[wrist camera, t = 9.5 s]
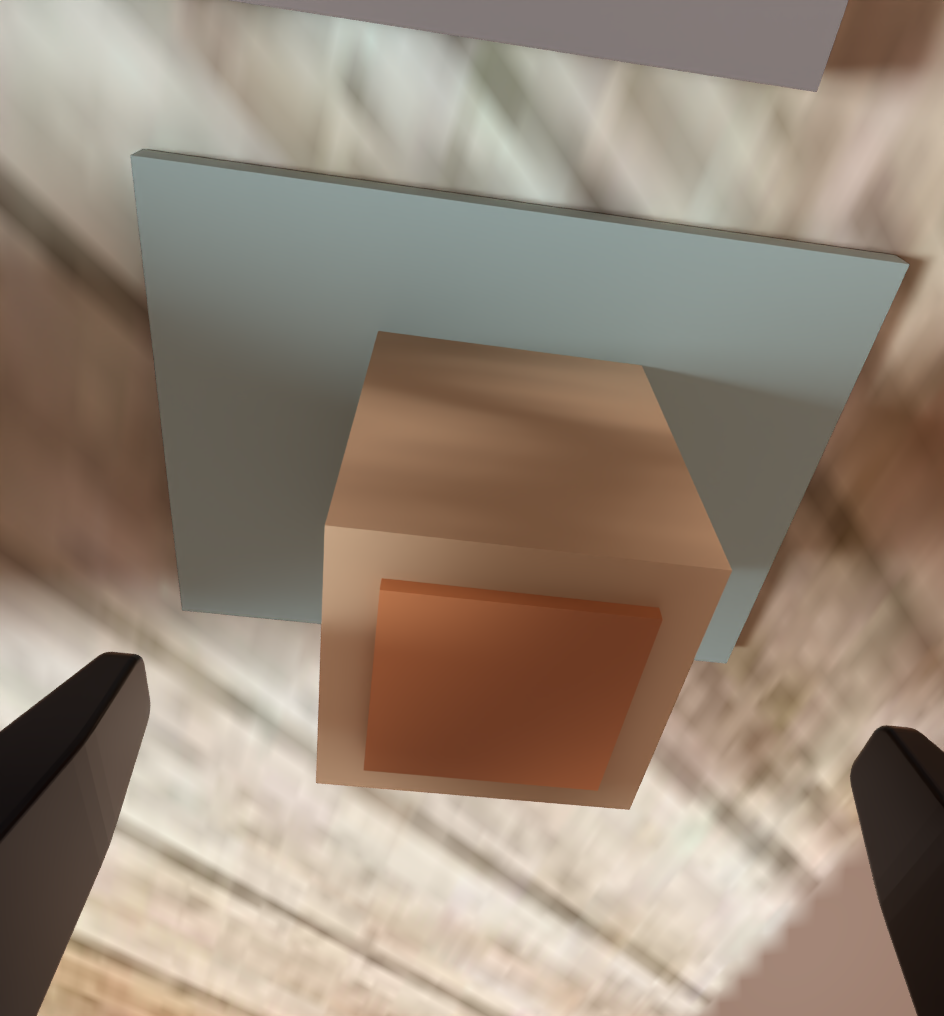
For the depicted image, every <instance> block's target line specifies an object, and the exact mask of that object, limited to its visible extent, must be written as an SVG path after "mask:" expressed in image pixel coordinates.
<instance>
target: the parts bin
mask: <svg viewBox="0 0 944 1016" xmlns="http://www.w3.org/2000/svg"><path fill="white" fill-rule="evenodd" d="M231 1H237V2H244V3H250V4H256V5H263V6H269V7H275V8H282V9H288V10H295V11H301V12H307V13H314V14H320V15H327V16H333V17H339V18H346V19H352V20H359V21H365V22H371V23H378V24H384V25H391V26H397V27H403V28H410V29H416V30H423V31H429V32H435V33H442V34H448V35H455V36H461V37H467V38H474V39H480V40H487V41H493V42H499V43H506V44H512V45H519V46H525V47H531V48H538V49H544V50H551V51H557V52H563V53H570V54H576V55H583V56H589V57H595V58H602V59H608V60H615V61H621V62H627V63H634V64H640V65H647V66H653V67H659V68H666V69H672V70H679V71H685V72H691V73H698V74H704V75H711V76H717V77H723V78H730V79H736V80H743V81H749V82H755V83H762V84H768V85H775V86H781V87H787V88H794V89H800V90H807V91H813V92H817V90H818V87H819V84H820V81H821V78H822V76H823V73H824V70H825V67H826V64H827V61H828V58H829V55H830V52H831V50H832V47H833V44H834V41H835V38H836V35H837V32H838V29H839V26H840V23H841V21H842V18H843V15H844V12H845V9H846V6H847V3H848V0H231Z"/></svg>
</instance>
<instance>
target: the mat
mask: <svg viewBox="0 0 944 1016" xmlns="http://www.w3.org/2000/svg"><path fill="white" fill-rule="evenodd" d="M131 164H132V173H133V182H134V191H135V199H136V208H137V217H138V226H139V235H140V243H141V252H142V261H143V270H144V279H145V287H146V296H147V305H148V314H149V323H150V331H151V340H152V349H153V358H154V367H155V375H156V384H157V393H158V402H159V411H160V420H161V428H162V437H163V446H164V455H165V464H166V472H167V481H168V490H169V499H170V508H171V516H172V525H173V534H174V543H175V552H176V560H177V569H178V578H179V587H180V596H181V604H182V610H183V611H193V612H204V613H214V614H224V615H234V616H245V617H255V618H265V619H275V620H286V621H296V622H306V623H317V624H321V621H322V591H323V561H324V531H325V522H326V519H327V515H328V511H329V508H330V504H331V500H332V497H333V493H334V490H335V486H336V482H337V479H338V475H339V471H340V468H341V464H342V460H343V457H344V453H345V450H346V446H347V442H348V439H349V435H350V431H351V428H352V424H353V420H354V417H355V413H356V410H357V406H358V402H359V399H360V395H361V391H362V388H363V384H364V380H365V377H366V373H367V369H368V366H369V362H370V359H371V355H372V351H373V348H374V344H375V340H376V337H377V333H378V331H383V332H391V333H399V334H406V335H414V336H421V337H429V338H437V339H444V340H452V341H460V342H467V343H475V344H483V345H490V346H498V347H506V348H513V349H521V350H528V351H536V352H544V353H551V354H559V355H567V356H574V357H582V358H590V359H597V360H605V361H612V362H620V363H628V364H635V365H642V367H643V369H644V372H645V374H646V376H647V378H648V381H649V383H650V385H651V387H652V390H653V392H654V394H655V397H656V399H657V401H658V403H659V406H660V408H661V410H662V412H663V415H664V417H665V419H666V421H667V424H668V426H669V428H670V431H671V433H672V435H673V437H674V440H675V442H676V444H677V446H678V449H679V451H680V453H681V455H682V458H683V460H684V462H685V465H686V467H687V469H688V471H689V474H690V476H691V478H692V480H693V483H694V485H695V487H696V489H697V492H698V494H699V496H700V499H701V501H702V503H703V505H704V508H705V510H706V512H707V514H708V517H709V519H710V521H711V523H712V526H713V528H714V530H715V533H716V535H717V537H718V539H719V542H720V544H721V546H722V548H723V551H724V553H725V555H726V557H727V560H728V562H729V564H730V567H731V569H732V572H731V574H730V577H729V579H728V581H727V584H726V586H725V588H724V591H723V593H722V595H721V598H720V600H719V602H718V605H717V607H716V609H715V612H714V614H713V616H712V619H711V621H710V623H709V626H708V628H707V630H706V633H705V635H704V637H703V640H702V642H701V644H700V647H699V649H698V651H697V653H696V656H695V658H694V660H696V661H707V662H717V663H727V661H728V659H729V657H730V655H731V652H732V650H733V648H734V646H735V644H736V642H737V639H738V637H739V635H740V633H741V631H742V629H743V626H744V624H745V622H746V620H747V618H748V615H749V613H750V611H751V609H752V607H753V605H754V602H755V600H756V598H757V596H758V594H759V592H760V589H761V587H762V585H763V583H764V581H765V578H766V576H767V574H768V572H769V570H770V568H771V565H772V563H773V561H774V559H775V557H776V554H777V552H778V550H779V548H780V546H781V544H782V541H783V539H784V537H785V535H786V533H787V531H788V528H789V526H790V524H791V522H792V520H793V517H794V515H795V513H796V511H797V509H798V507H799V504H800V502H801V500H802V498H803V496H804V493H805V491H806V489H807V487H808V485H809V483H810V480H811V478H812V476H813V474H814V472H815V470H816V467H817V465H818V463H819V461H820V459H821V456H822V454H823V452H824V450H825V448H826V446H827V443H828V441H829V439H830V437H831V435H832V432H833V430H834V428H835V426H836V424H837V422H838V419H839V417H840V415H841V413H842V411H843V409H844V406H845V404H846V402H847V400H848V398H849V395H850V393H851V391H852V389H853V387H854V385H855V382H856V380H857V378H858V376H859V374H860V372H861V369H862V367H863V365H864V363H865V361H866V358H867V356H868V354H869V352H870V350H871V348H872V345H873V343H874V341H875V339H876V337H877V334H878V332H879V330H880V328H881V326H882V324H883V321H884V319H885V317H886V315H887V313H888V311H889V308H890V306H891V304H892V302H893V300H894V297H895V295H896V293H897V291H898V289H899V287H900V284H901V282H902V280H903V278H904V276H905V273H906V271H907V269H908V267H909V265H910V264H908V263H907V262H905V261H904V260H902V259H900V258H899V257H897V256H896V255H891V254H884V253H877V252H870V251H863V250H856V249H848V248H841V247H834V246H827V245H820V244H813V243H806V242H799V241H792V240H785V239H777V238H770V237H763V236H756V235H749V234H742V233H735V232H728V231H721V230H714V229H706V228H699V227H692V226H685V225H678V224H671V223H664V222H657V221H650V220H643V219H635V218H628V217H621V216H614V215H607V214H600V213H593V212H586V211H579V210H572V209H565V208H557V207H550V206H543V205H536V204H529V203H522V202H515V201H508V200H501V199H494V198H486V197H479V196H472V195H465V194H458V193H451V192H444V191H437V190H430V189H423V188H415V187H408V186H401V185H394V184H387V183H380V182H373V181H366V180H359V179H352V178H344V177H337V176H330V175H323V174H316V173H309V172H302V171H295V170H288V169H281V168H273V167H266V166H259V165H252V164H245V163H238V162H231V161H224V160H217V159H210V158H202V157H195V156H188V155H181V154H174V153H167V152H160V151H153V150H146V149H142V150H140V151H138V152H136V153H134V154H132V155H131Z"/></svg>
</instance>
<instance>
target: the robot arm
mask: <svg viewBox="0 0 944 1016" xmlns="http://www.w3.org/2000/svg"><path fill="white" fill-rule="evenodd" d="M149 714H150V696H149V690H148V684H147V678H146V671H145V665H144V661H143V659H142V658H141V657H140V656H139V655H136V654H128V653H118V652H106V653H103V654H101V655H99V656H98V657H96V658H95V659H94V660H92V661H91V662H90V663H89V664H87V665H86V666H85V667H83V668H82V669H81V670H79V671H78V672H77V673H76V674H74V675H73V676H72V677H70V678H69V679H68V680H66V681H65V682H64V683H63V684H61V685H60V686H59V687H57V688H56V689H55V690H53V691H52V692H51V693H50V694H48V695H47V696H46V697H44V698H43V699H42V700H40V701H39V702H38V703H37V704H35V705H34V706H33V707H31V708H30V709H29V710H27V711H26V712H25V713H24V714H22V715H21V716H20V717H18V718H17V719H16V720H14V721H13V722H12V723H11V724H9V725H8V726H7V727H5V728H4V729H3V730H2V731H0V1016H37V1014H38V1011H39V1009H40V1007H41V1004H42V1002H43V1000H44V998H45V995H46V993H47V991H48V988H49V986H50V984H51V981H52V979H53V977H54V974H55V972H56V970H57V967H58V965H59V963H60V960H61V958H62V956H63V954H64V951H65V949H66V947H67V944H68V942H69V940H70V937H71V935H72V933H73V930H74V928H75V926H76V923H77V921H78V919H79V916H80V914H81V912H82V910H83V907H84V905H85V903H86V900H87V898H88V896H89V893H90V891H91V889H92V886H93V884H94V882H95V879H96V877H97V875H98V872H99V870H100V868H101V865H102V863H103V860H104V858H105V855H106V853H107V850H108V848H109V845H110V842H111V839H112V836H113V833H114V830H115V827H116V824H117V821H118V818H119V814H120V811H121V808H122V805H123V801H124V798H125V795H126V791H127V788H128V785H129V782H130V778H131V775H132V772H133V769H134V765H135V762H136V759H137V756H138V752H139V749H140V746H141V742H142V739H143V736H144V733H145V729H146V726H147V723H148V719H149ZM850 780H851V787H852V792H853V796H854V800H855V804H856V809H857V813H858V817H859V821H860V825H861V830H862V834H863V838H864V842H865V847H866V851H867V855H868V859H869V864H870V868H871V872H872V876H873V880H874V885H875V888H876V892H877V896H878V900H879V903H880V906H881V910H882V913H883V916H884V919H885V922H886V926H887V929H888V931H889V934H890V937H891V940H892V943H893V946H894V949H895V952H896V955H897V958H898V961H899V964H900V966H901V969H902V972H903V975H904V978H905V981H906V984H907V987H908V990H909V993H910V996H911V998H912V1002H913V1004H914V1007H915V1010H916V1013H917V1016H944V752H943V751H942V750H941V749H940V748H938V747H937V746H936V745H935V744H934V743H932V742H931V741H930V740H929V739H928V738H927V737H925V736H924V735H923V734H922V733H920V732H919V731H917V730H915V729H912V728H908V727H898V726H887V725H886V726H881V727H879V728H878V729H876V730H875V732H874V733H873V734H872V736H871V737H870V739H869V740H868V742H867V743H866V745H865V746H864V748H863V749H862V751H861V752H860V754H859V755H858V757H857V758H856V760H855V761H854V763H853V765H852V768H851V775H850Z"/></svg>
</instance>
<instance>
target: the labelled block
mask: <svg viewBox="0 0 944 1016" xmlns="http://www.w3.org/2000/svg"><path fill="white" fill-rule="evenodd" d="M731 572H732V569H731V567H730V564H729V562H728V560H727V557H726V555H725V553H724V551H723V548H722V546H721V544H720V542H719V539H718V537H717V535H716V533H715V530H714V528H713V526H712V523H711V521H710V519H709V517H708V514H707V512H706V510H705V508H704V505H703V503H702V501H701V499H700V496H699V494H698V492H697V489H696V487H695V485H694V483H693V480H692V478H691V476H690V474H689V471H688V469H687V467H686V465H685V462H684V460H683V458H682V455H681V453H680V451H679V449H678V446H677V444H676V442H675V440H674V437H673V435H672V433H671V431H670V428H669V426H668V424H667V421H666V419H665V417H664V415H663V412H662V410H661V408H660V406H659V403H658V401H657V399H656V397H655V394H654V392H653V390H652V387H651V385H650V383H649V381H648V378H647V376H646V374H645V372H644V369H643V367H642V365H635V364H628V363H620V362H612V361H605V360H597V359H590V358H582V357H574V356H567V355H559V354H551V353H544V352H536V351H528V350H521V349H513V348H506V347H498V346H490V345H483V344H475V343H467V342H460V341H452V340H444V339H437V338H429V337H421V336H414V335H406V334H399V333H391V332H383V331H378V333H377V337H376V340H375V344H374V348H373V351H372V355H371V359H370V362H369V366H368V369H367V373H366V377H365V380H364V384H363V388H362V391H361V395H360V399H359V402H358V406H357V410H356V413H355V417H354V420H353V424H352V428H351V431H350V435H349V439H348V442H347V446H346V450H345V453H344V457H343V460H342V464H341V468H340V471H339V475H338V479H337V482H336V486H335V490H334V493H333V497H332V500H331V504H330V508H329V511H328V515H327V519H326V522H325V531H324V561H323V591H322V621H321V650H320V680H319V710H318V740H317V770H316V783H322V784H333V785H345V786H357V787H369V788H380V789H392V790H404V791H416V792H428V793H439V794H451V795H463V796H475V797H487V798H498V799H510V800H522V801H534V802H545V803H557V804H569V805H581V806H593V807H604V808H616V809H628V810H630V807H631V805H632V803H633V800H634V798H635V796H636V793H637V791H638V789H639V786H640V784H641V782H642V779H643V777H644V775H645V772H646V770H647V768H648V765H649V763H650V761H651V758H652V756H653V754H654V751H655V749H656V747H657V744H658V742H659V740H660V737H661V735H662V733H663V730H664V728H665V726H666V723H667V721H668V719H669V716H670V714H671V712H672V709H673V707H674V705H675V702H676V700H677V698H678V695H679V693H680V691H681V688H682V686H683V684H684V681H685V679H686V677H687V674H688V672H689V670H690V667H691V665H692V663H693V660H694V658H695V656H696V653H697V651H698V649H699V647H700V644H701V642H702V640H703V637H704V635H705V633H706V630H707V628H708V626H709V623H710V621H711V619H712V616H713V614H714V612H715V609H716V607H717V605H718V602H719V600H720V598H721V595H722V593H723V591H724V588H725V586H726V584H727V581H728V579H729V577H730V574H731Z"/></svg>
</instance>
